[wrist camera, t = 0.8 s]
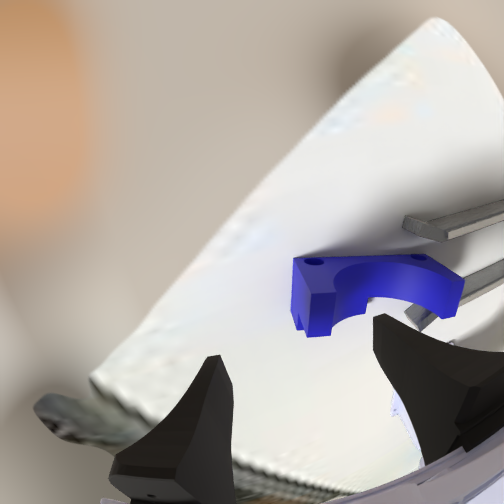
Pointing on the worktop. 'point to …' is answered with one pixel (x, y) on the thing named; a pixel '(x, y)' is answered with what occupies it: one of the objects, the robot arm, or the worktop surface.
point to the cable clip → (368, 287)
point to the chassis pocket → (451, 229)
